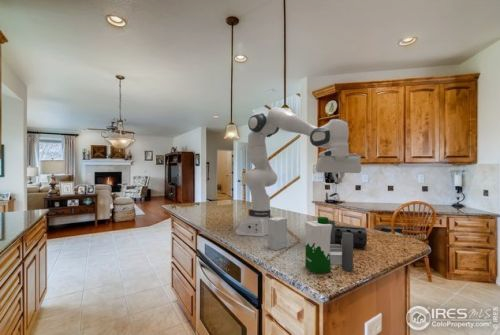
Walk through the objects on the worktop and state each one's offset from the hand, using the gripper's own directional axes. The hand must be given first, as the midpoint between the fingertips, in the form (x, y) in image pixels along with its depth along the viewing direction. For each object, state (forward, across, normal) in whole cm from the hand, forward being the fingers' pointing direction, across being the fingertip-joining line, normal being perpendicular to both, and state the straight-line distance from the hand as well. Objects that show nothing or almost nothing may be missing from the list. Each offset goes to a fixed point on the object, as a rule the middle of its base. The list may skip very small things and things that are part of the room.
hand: (338, 182), depth 111 cm
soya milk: (+33, +14, +19) cm, 41 cm away
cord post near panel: (+33, +2, -3) cm, 33 cm away
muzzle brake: (+34, -3, -12) cm, 36 cm away
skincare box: (+33, +28, -5) cm, 44 cm away
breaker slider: (+29, -1, +8) cm, 30 cm away
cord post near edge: (+33, +2, +19) cm, 38 cm away
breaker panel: (+33, +4, +7) cm, 34 cm away
